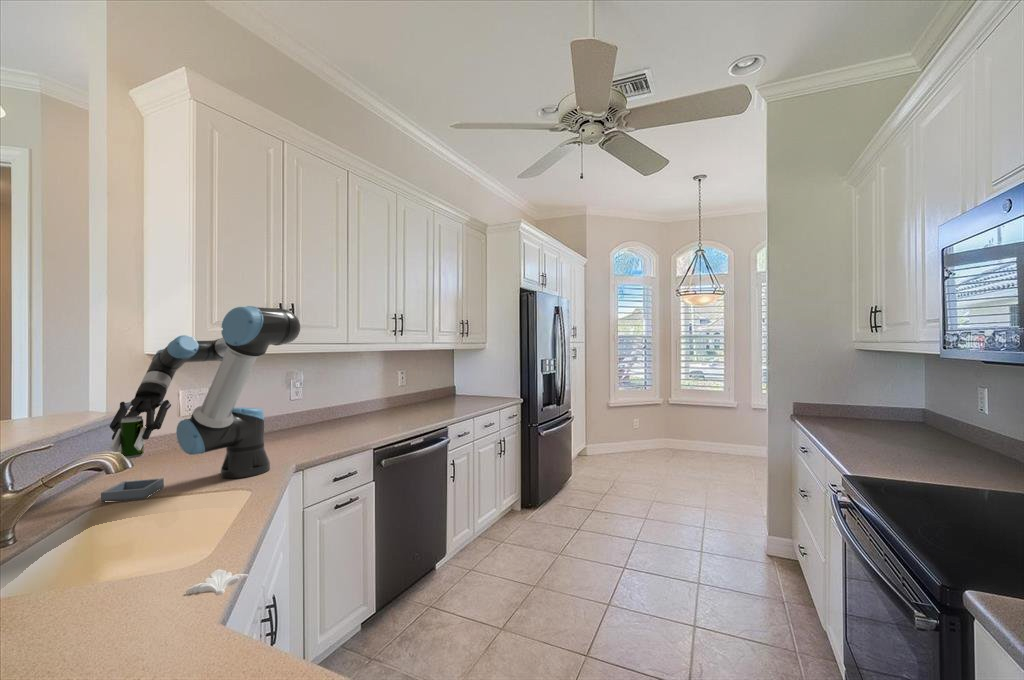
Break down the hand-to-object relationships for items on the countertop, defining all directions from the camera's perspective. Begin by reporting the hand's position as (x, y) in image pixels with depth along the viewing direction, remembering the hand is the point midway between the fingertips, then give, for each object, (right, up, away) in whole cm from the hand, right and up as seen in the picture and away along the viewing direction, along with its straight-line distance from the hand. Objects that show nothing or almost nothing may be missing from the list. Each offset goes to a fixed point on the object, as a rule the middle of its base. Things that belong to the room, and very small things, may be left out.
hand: (125, 448), depth 134 cm
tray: (0, -15, +3) cm, 16 cm away
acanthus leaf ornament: (+60, -15, -48) cm, 78 cm away
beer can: (-1, -4, +4) cm, 5 cm away
